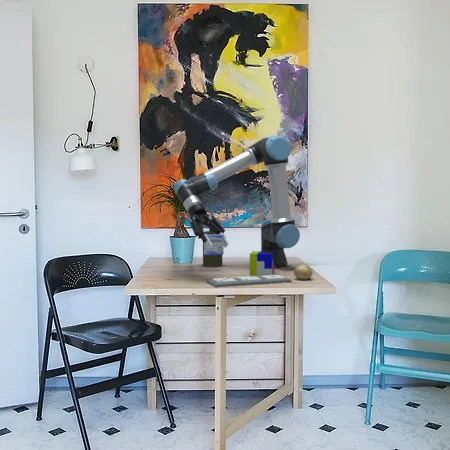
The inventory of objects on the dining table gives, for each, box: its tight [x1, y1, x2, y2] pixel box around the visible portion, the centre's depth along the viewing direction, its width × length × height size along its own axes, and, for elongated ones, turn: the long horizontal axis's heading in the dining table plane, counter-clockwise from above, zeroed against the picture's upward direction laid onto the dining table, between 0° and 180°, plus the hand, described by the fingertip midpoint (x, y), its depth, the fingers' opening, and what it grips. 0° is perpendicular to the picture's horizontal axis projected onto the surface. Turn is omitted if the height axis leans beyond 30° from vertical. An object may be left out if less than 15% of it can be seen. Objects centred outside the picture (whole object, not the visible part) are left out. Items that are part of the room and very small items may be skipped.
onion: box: [293, 263, 313, 281], centre depth 246 cm, size 8×8×7 cm
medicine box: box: [204, 234, 225, 256], centre depth 245 cm, size 8×4×9 cm, turn 105°
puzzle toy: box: [249, 250, 275, 277], centre depth 261 cm, size 10×10×10 cm
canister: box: [202, 227, 223, 268], centre depth 288 cm, size 11×10×20 cm
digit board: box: [206, 274, 293, 288], centre depth 239 cm, size 34×12×2 cm, turn 109°
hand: (218, 246), depth 243 cm, fingers closed on medicine box, 9 cm apart
